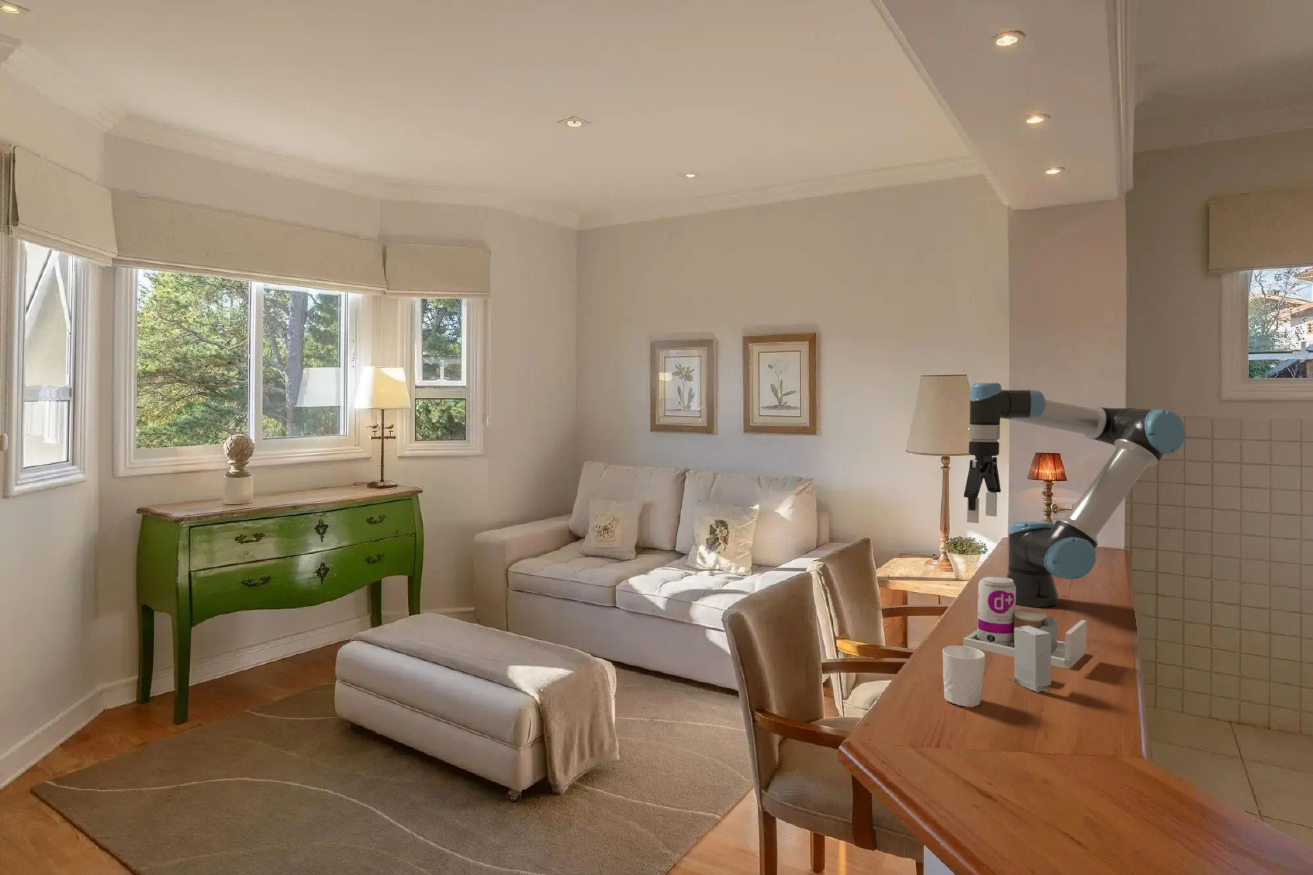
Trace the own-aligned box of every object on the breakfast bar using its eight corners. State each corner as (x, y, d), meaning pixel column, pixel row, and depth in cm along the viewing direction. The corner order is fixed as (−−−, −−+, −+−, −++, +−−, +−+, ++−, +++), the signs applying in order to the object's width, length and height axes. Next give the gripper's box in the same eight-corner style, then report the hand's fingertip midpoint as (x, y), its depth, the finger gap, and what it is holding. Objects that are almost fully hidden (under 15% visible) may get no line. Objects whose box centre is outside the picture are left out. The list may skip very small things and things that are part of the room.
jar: (1018, 644, 187) (1019, 607, 186) (1049, 650, 182) (1051, 612, 182) (1008, 651, 182) (1009, 613, 181) (1040, 658, 177) (1042, 619, 176)
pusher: (1052, 647, 184) (1053, 613, 183) (1056, 648, 183) (1057, 613, 182) (1038, 659, 176) (1039, 623, 175) (1043, 660, 175) (1044, 624, 175)
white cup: (982, 696, 159) (983, 647, 158) (985, 711, 152) (986, 660, 151) (941, 691, 162) (942, 643, 161) (941, 705, 154) (942, 656, 154)
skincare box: (1052, 690, 162) (1053, 632, 161) (1035, 693, 160) (1037, 635, 159) (1028, 680, 168) (1030, 624, 167) (1012, 682, 166) (1013, 626, 165)
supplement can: (1018, 647, 182) (1020, 584, 181) (980, 645, 184) (982, 582, 183) (1009, 636, 190) (1011, 575, 189) (973, 634, 192) (975, 574, 191)
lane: (982, 637, 196) (983, 602, 195) (1084, 658, 180) (1086, 620, 180) (962, 650, 186) (963, 613, 185) (1069, 674, 171) (1070, 634, 170)
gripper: (986, 437, 222) (984, 511, 223) (952, 442, 203) (950, 523, 205) (1014, 438, 217) (1012, 514, 218) (981, 443, 198) (979, 527, 200)
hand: (982, 519), depth 211 cm, fingers open, 13 cm apart
